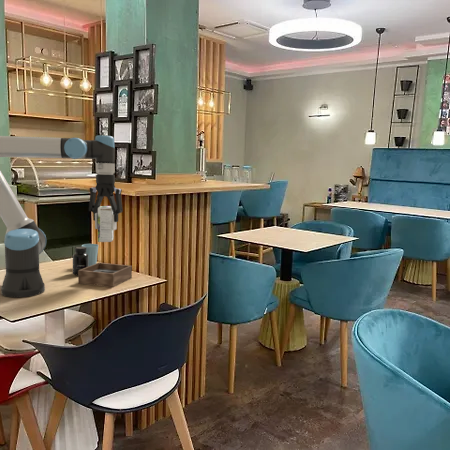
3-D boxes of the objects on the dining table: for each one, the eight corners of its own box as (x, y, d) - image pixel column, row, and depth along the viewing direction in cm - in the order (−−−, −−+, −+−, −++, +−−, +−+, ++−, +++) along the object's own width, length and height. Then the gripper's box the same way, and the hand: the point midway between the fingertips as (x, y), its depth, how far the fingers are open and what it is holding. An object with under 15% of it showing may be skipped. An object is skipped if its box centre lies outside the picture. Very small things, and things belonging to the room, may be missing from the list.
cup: (91, 269, 210) (91, 247, 209) (78, 267, 213) (78, 245, 212) (101, 265, 218) (101, 244, 216) (88, 264, 220) (88, 243, 219)
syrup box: (100, 239, 191) (99, 205, 189) (114, 239, 192) (113, 205, 190) (97, 242, 186) (96, 207, 184) (112, 242, 186) (111, 207, 184)
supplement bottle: (78, 276, 196) (78, 249, 195) (69, 274, 200) (69, 247, 199) (92, 273, 202) (91, 247, 200) (82, 271, 206) (82, 245, 204)
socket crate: (78, 283, 186) (78, 270, 185) (99, 274, 201) (99, 262, 200) (113, 287, 181) (113, 274, 181) (131, 278, 197) (131, 265, 196)
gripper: (78, 173, 184) (79, 228, 187) (122, 174, 179) (123, 231, 182) (89, 173, 191) (89, 226, 194) (131, 174, 186) (131, 229, 189)
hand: (105, 229), depth 188 cm, fingers closed on syrup box, 7 cm apart
